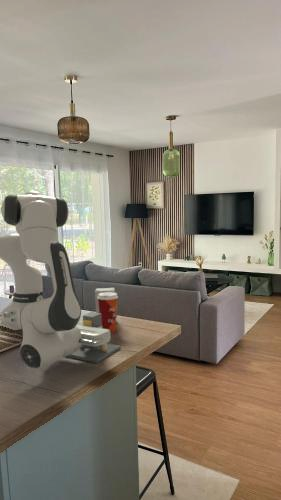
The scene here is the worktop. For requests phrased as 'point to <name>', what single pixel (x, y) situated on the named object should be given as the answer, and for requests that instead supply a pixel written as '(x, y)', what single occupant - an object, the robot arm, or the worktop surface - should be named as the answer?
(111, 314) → the coffee cup
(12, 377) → the worktop surface
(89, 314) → the plug block
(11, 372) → the worktop surface
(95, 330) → the robot arm
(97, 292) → the skincare box
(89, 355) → the slate board
